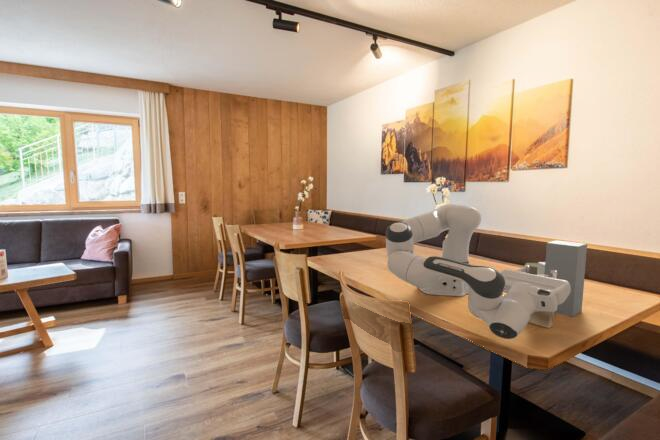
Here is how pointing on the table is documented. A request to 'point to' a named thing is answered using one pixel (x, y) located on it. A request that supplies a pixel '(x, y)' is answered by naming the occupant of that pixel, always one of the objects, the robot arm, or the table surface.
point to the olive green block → (532, 268)
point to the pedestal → (568, 272)
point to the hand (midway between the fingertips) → (540, 269)
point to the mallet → (542, 315)
